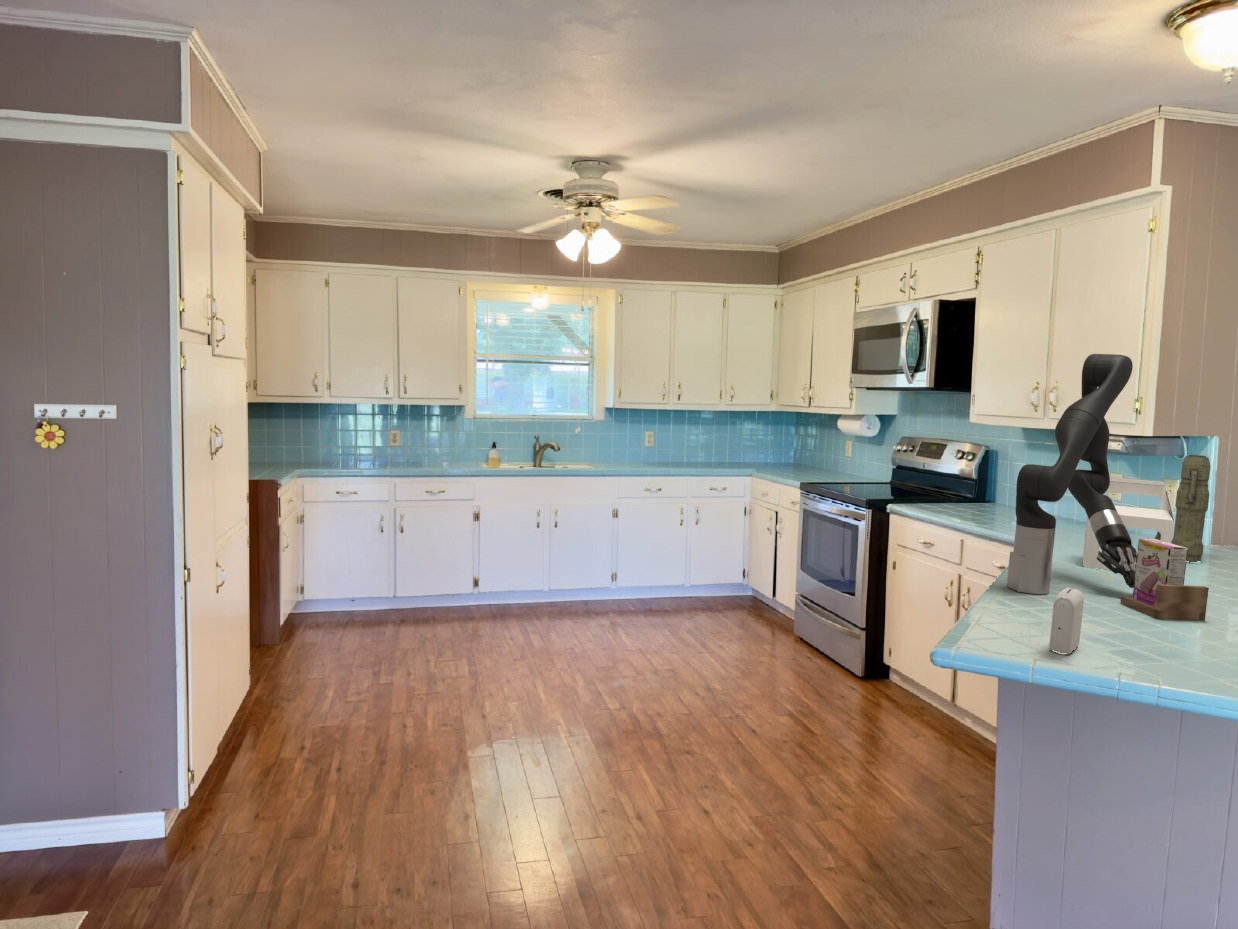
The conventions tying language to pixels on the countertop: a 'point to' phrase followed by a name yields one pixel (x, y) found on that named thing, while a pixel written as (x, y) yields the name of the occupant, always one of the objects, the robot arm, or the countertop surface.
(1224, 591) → the countertop surface
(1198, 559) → the moai statue
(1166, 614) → the walnut rack
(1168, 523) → the gable box
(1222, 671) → the countertop surface
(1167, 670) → the countertop surface
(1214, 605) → the countertop surface
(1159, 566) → the candy bar box
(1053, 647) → the photo printer
